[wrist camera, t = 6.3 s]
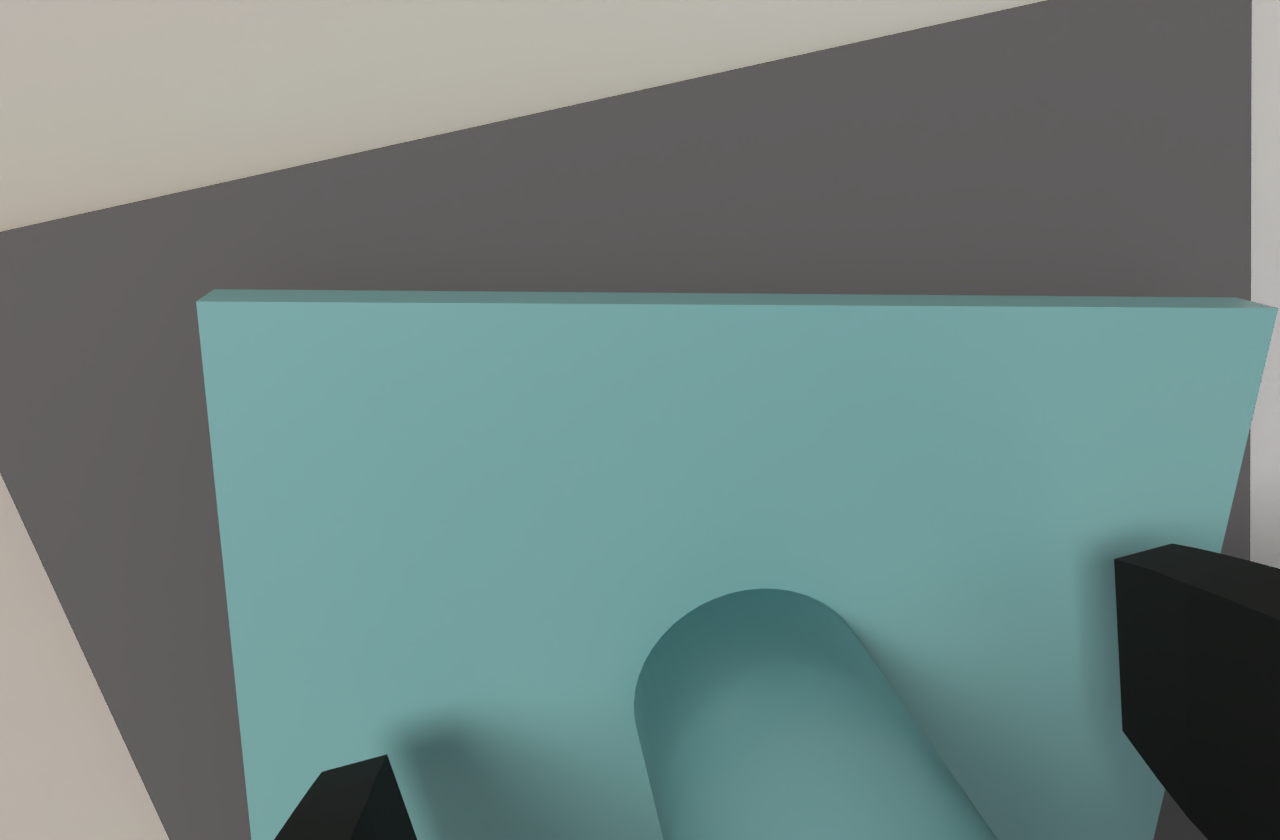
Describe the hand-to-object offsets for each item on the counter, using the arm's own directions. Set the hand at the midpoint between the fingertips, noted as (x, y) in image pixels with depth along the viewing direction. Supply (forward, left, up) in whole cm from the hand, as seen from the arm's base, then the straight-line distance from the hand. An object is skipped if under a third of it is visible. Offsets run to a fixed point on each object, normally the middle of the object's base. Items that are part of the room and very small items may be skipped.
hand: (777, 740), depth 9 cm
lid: (0, 0, -2) cm, 2 cm away
